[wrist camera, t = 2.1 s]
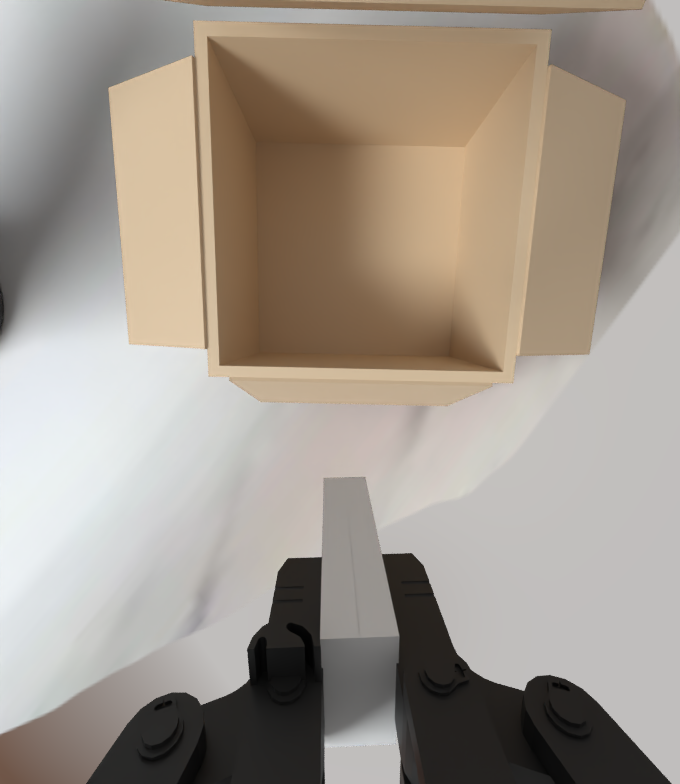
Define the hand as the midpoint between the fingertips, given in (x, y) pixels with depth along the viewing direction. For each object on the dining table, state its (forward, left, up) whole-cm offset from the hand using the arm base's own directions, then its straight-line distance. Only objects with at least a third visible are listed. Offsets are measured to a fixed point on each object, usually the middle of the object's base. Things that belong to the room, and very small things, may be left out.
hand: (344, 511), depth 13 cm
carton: (-8, +9, -28) cm, 30 cm away
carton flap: (-19, +17, -13) cm, 29 cm away
